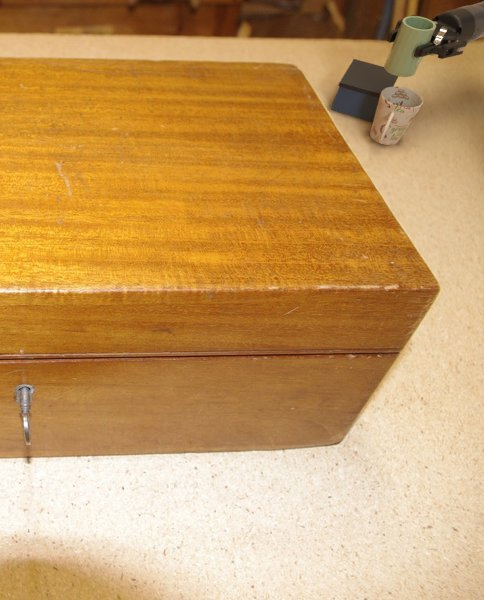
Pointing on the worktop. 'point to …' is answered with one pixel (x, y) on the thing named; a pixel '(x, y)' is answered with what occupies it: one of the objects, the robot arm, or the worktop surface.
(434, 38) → the robot arm
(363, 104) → the container
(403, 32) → the cup
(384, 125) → the mug
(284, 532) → the worktop surface
